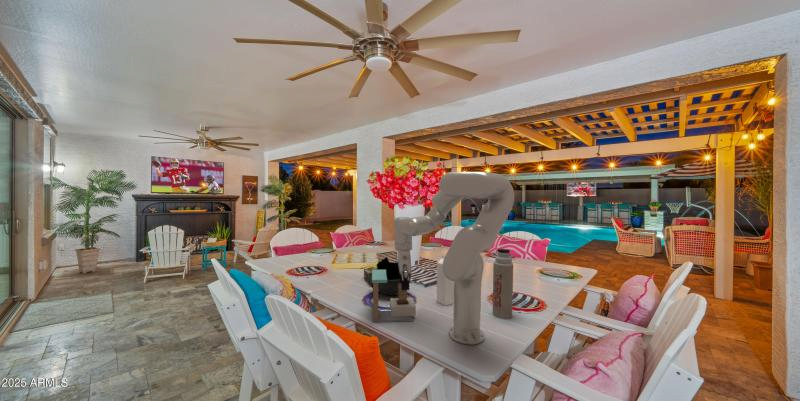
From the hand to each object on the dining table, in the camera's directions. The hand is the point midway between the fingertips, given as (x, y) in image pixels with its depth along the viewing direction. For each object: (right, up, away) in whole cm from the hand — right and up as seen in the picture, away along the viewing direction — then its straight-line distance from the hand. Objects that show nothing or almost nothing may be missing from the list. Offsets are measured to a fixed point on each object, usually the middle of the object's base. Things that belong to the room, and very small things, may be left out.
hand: (404, 286), depth 125 cm
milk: (+20, -12, +14) cm, 27 cm away
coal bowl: (-6, -11, +25) cm, 28 cm away
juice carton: (-16, -11, +45) cm, 49 cm away
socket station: (-5, -12, +1) cm, 13 cm away
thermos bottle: (+42, -13, +1) cm, 44 cm away
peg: (-1, -11, +1) cm, 11 cm away
